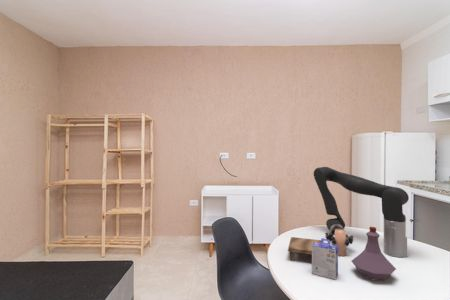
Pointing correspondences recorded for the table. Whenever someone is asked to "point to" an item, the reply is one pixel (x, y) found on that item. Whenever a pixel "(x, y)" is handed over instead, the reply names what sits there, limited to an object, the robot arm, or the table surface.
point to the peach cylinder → (340, 241)
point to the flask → (373, 259)
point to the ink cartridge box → (325, 259)
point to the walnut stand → (300, 246)
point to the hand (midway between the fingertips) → (340, 243)
